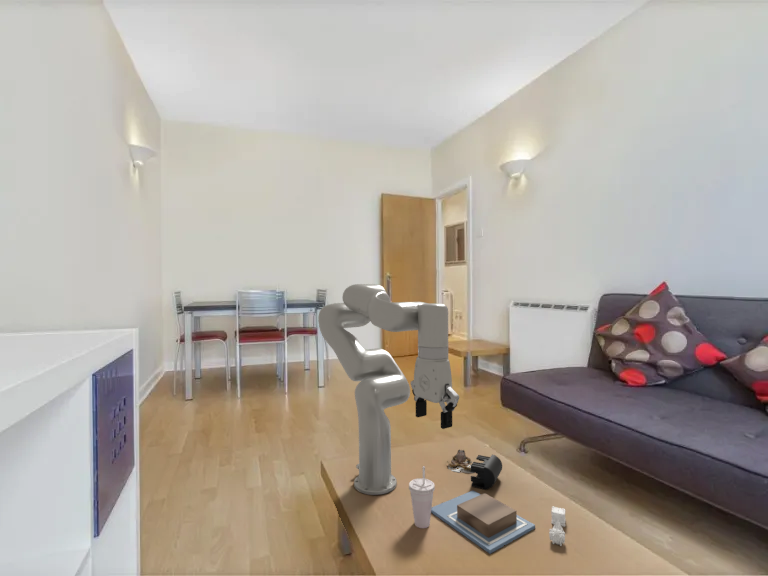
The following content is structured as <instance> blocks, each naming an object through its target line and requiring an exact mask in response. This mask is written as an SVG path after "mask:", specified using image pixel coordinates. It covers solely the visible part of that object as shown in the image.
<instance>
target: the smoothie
mask: <svg viewBox="0 0 768 576" xmlns="http://www.w3.org/2000/svg"><path fill="white" fill-rule="evenodd" d="M435 487H436V486H435V482H433V481H432V480H431V479H428V478H426V467H425V465H423V466H422V478H413V479H412V480H410V482H408V490H409V492H410V497H411V506H412V511H413V512H412V514H413V520H414V525H415V527H416V528H418V529H419V528H420V529H427V528H428V527H429V526H430V525H431V517H432V516H431V515H432V513H431V508H432V507H433V506H432V505H433V499H434V498H433V497H434V491H435V490H436V489H435Z"/></svg>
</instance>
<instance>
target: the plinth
mask: <svg viewBox="0 0 768 576" xmlns="http://www.w3.org/2000/svg"><path fill="white" fill-rule="evenodd" d="M517 515H518V514H517V510H516V509H514V508H513V507H511V506H509V505H508V504H505V503H503V502H501V501H500V500H498V499H496V498H494V497H492V496H491V495H489V494H487V493H482V494H481V495H479V496H477V497H475V498H472V499H470V500H468V501H466V502H463V503H461V504H459V505H457V517H458V518H459V519H461V520H462V521H464V522H465V523H467V524H468V525H470V526H471V527H473V528H474V529H476V530H477V531H479V532H480V533H482V534H483V535H485V536H486V537H488V538H489V537H491V536H493V535H495V534H497V533H499V532H501V531H503V530H505V529H506V528H508V527H510V526H512V525H514V524H516V523H517Z"/></svg>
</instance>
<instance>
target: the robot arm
mask: <svg viewBox="0 0 768 576" xmlns="http://www.w3.org/2000/svg"><path fill="white" fill-rule="evenodd" d="M369 323H371V324H372V325H373V326H375V327H376V328H379V329H381V330H384V331H388V332H393V333H399V332H407V331H408V332H409V331H417V357H416V359H415V363H414V372H413V380H411V381H410V384H409V382H408V379H407V378H406V375H405V374H404V373H403V370H401V368H400V366H399V365H398V364H397V362H396V361H395V359H394V358H393V356H392V354H390V353H389V352H388V351H387V350H385V349H383V348H369V349H366V348H364V347H363V346H362V344H361V343H360V341H359V340H358V338H357V337H356V336H355V335H354V334H352V333H351V332H349V331H348V330H347V329H348V328H350V329H351V328H361V327H364V326H367V324H369ZM318 328H319V331H320V334H321V336H322V338H323V339H324V340H325V341H326V342H325V343H327V344H328V345H329V346H330V348H331V349H332V350H333V352H334V354H335V355H336V358H337V359H338V361H339V362H340V364H341V366H342V368H343V370H344V371H345V374H346V375H347V377H348V378H349V379H350V380H351V381H353V382H358V384H357V385H356V387H355V389H354V400H355V404H356V409H357V417H358V463H357V464H356V466H355V467H356V469H357V470H358V475H357V476H356V477H355V479H353V480H354V481H353V487H354V488H355V490H357V491H358V492H359V493H362V494H364V495H371V496H377V495H378V496H379V495H385V494H388V493H390V492H392V491H393V490H395V488H396V487H397V485H398V484H397V478H396V477H395V476H394V475H393V474H392V449H391V448H392V443H391V441H392V437H391V436H392V435H391V432H392V430H391V429H392V428H391V421H390V418H389V417H388V416H387V414H386V412H385V409H388V408H392V407H396V406H399V405H402V404H404V403H406V402H408V400H409V398H410V395H411V394H413V397H414V398H413V400H414V402H415V417H416V418H422V417H425V416H427V401H428V402H431V403H434V404H438V403H439V406H440V407H441V410H442V411H440V428H441V429H442V430H445V429H449V428H452V427H453V412H454V411H455V409H456V407H457V406H458V403H459V400H460V395H459V394H458V393H457V392H456V391H455V390H454V389H453V382H452V381H453V378H452V370H451V363H450V360H449V307H448V306H447V305H446V304H444V303H428V302H423V301H402V302H401V301H400V302H397V301H396V302H395V301H394V302H392V301H391V298H390V295H389V294H388V293H387V291H386V289H385V288H384V287H383V286H382V285H379V284H377V283H376V284H375V283H372V284H371V283H370V284H369V283H366V284H365V283H357V284H351V285H349V286H347V287H346V288H345V289H344V290H343V292H342V302H337V303H336V302H334V303H330V304H327V305H324V306H323V307H322V308H321V309H320V311H319V312H318ZM411 389H412V390H411ZM411 391H412V393H411ZM445 403H446V404H445Z"/></svg>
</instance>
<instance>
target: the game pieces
mask: <svg viewBox="0 0 768 576" xmlns="http://www.w3.org/2000/svg"><path fill="white" fill-rule="evenodd" d="M566 520H567V519H566V509H565V508H564V507H562V508H561V507H557V506H554V505H553V506H551V524H552V525H553V527H552V528H549V532H548V534H549V541H552V545H555V544H556V545H559V547H562V546H563V545H564V544H565V542H566V541H565V540H566V532H565V531H564V529H563V528H565V527H566ZM562 544H563V545H562Z"/></svg>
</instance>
